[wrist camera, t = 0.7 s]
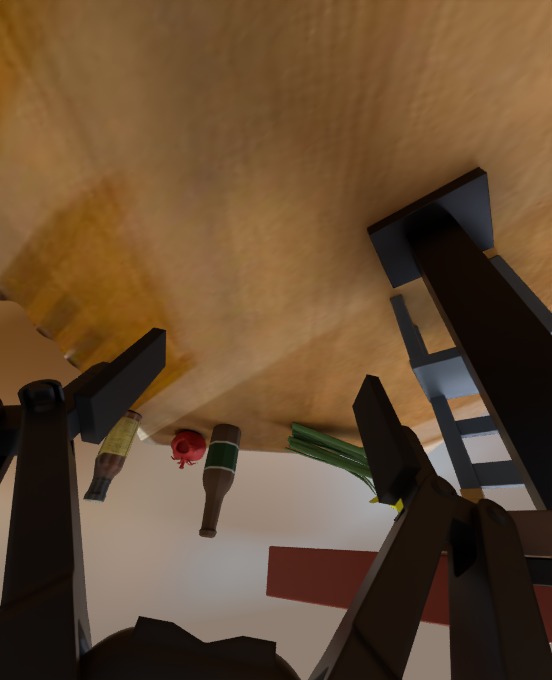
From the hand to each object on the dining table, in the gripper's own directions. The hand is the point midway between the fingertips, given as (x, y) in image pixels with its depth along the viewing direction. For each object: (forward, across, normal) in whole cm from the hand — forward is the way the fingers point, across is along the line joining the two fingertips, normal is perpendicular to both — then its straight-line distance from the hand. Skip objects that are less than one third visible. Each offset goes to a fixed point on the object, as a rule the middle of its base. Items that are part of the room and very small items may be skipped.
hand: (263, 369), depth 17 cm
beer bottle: (+38, -6, -48) cm, 61 cm away
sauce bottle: (+36, -32, -47) cm, 67 cm away
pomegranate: (+41, -16, -55) cm, 71 cm away
